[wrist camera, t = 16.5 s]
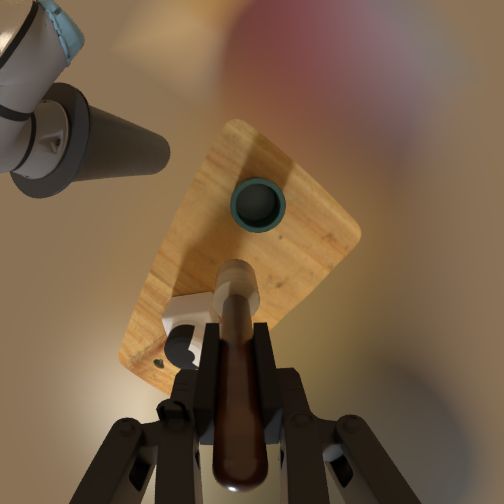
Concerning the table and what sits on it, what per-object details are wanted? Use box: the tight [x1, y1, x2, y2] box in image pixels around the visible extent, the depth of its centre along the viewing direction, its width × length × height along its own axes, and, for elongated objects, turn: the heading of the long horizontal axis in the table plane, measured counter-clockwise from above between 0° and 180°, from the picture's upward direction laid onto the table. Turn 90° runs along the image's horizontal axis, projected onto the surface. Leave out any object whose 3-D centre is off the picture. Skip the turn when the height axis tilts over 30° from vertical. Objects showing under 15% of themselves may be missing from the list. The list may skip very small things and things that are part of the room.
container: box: [162, 291, 221, 370], centre depth 42 cm, size 8×8×13 cm
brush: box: [212, 259, 268, 493], centre depth 16 cm, size 4×4×20 cm
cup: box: [230, 177, 286, 233], centre depth 40 cm, size 7×7×8 cm
